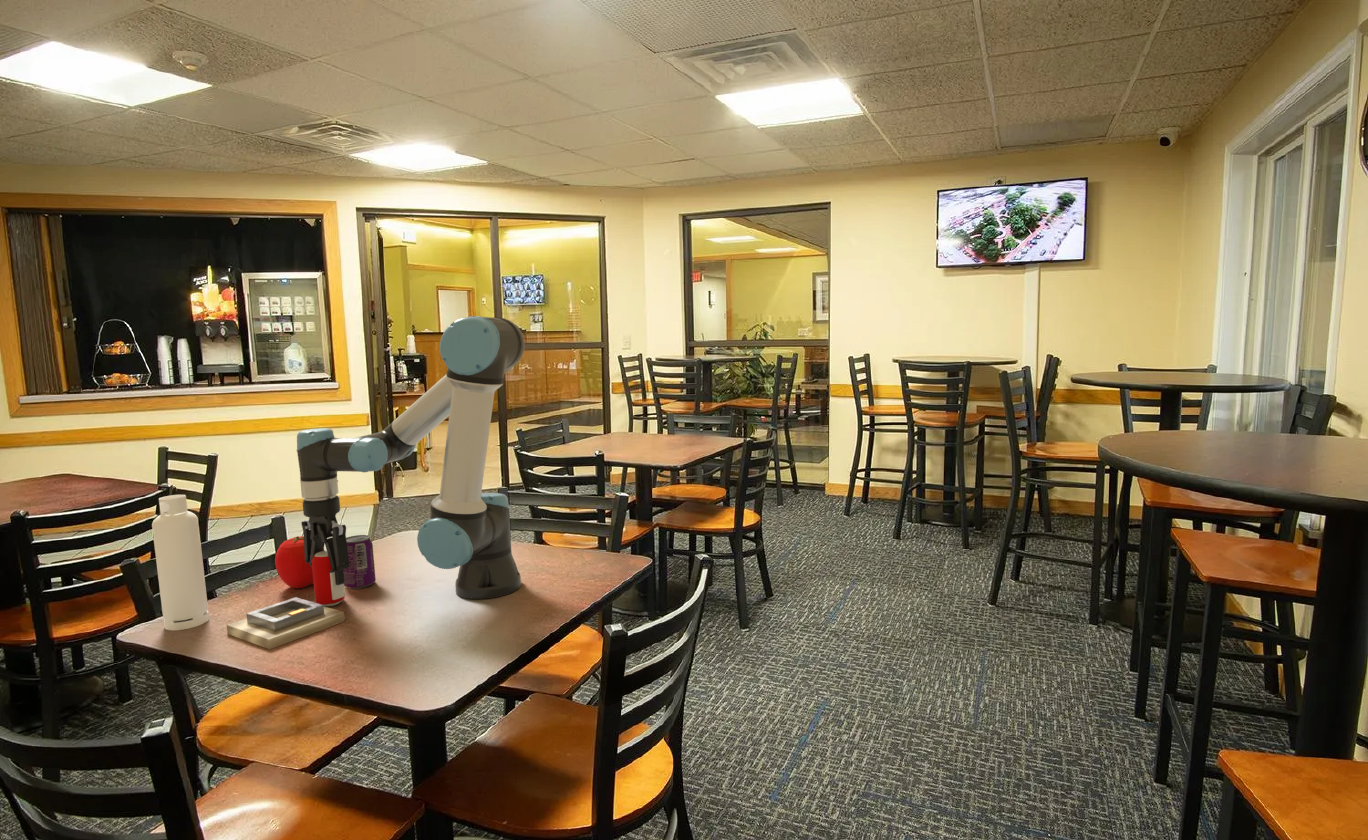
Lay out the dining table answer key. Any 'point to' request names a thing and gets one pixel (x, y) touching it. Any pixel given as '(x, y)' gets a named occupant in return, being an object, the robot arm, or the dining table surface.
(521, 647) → the dining table surface
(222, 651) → the dining table surface
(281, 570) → the tomato
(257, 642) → the hub board
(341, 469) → the robot arm
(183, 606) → the bottle
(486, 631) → the dining table surface
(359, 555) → the beverage can
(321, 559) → the beverage can
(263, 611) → the frame
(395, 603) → the dining table surface
